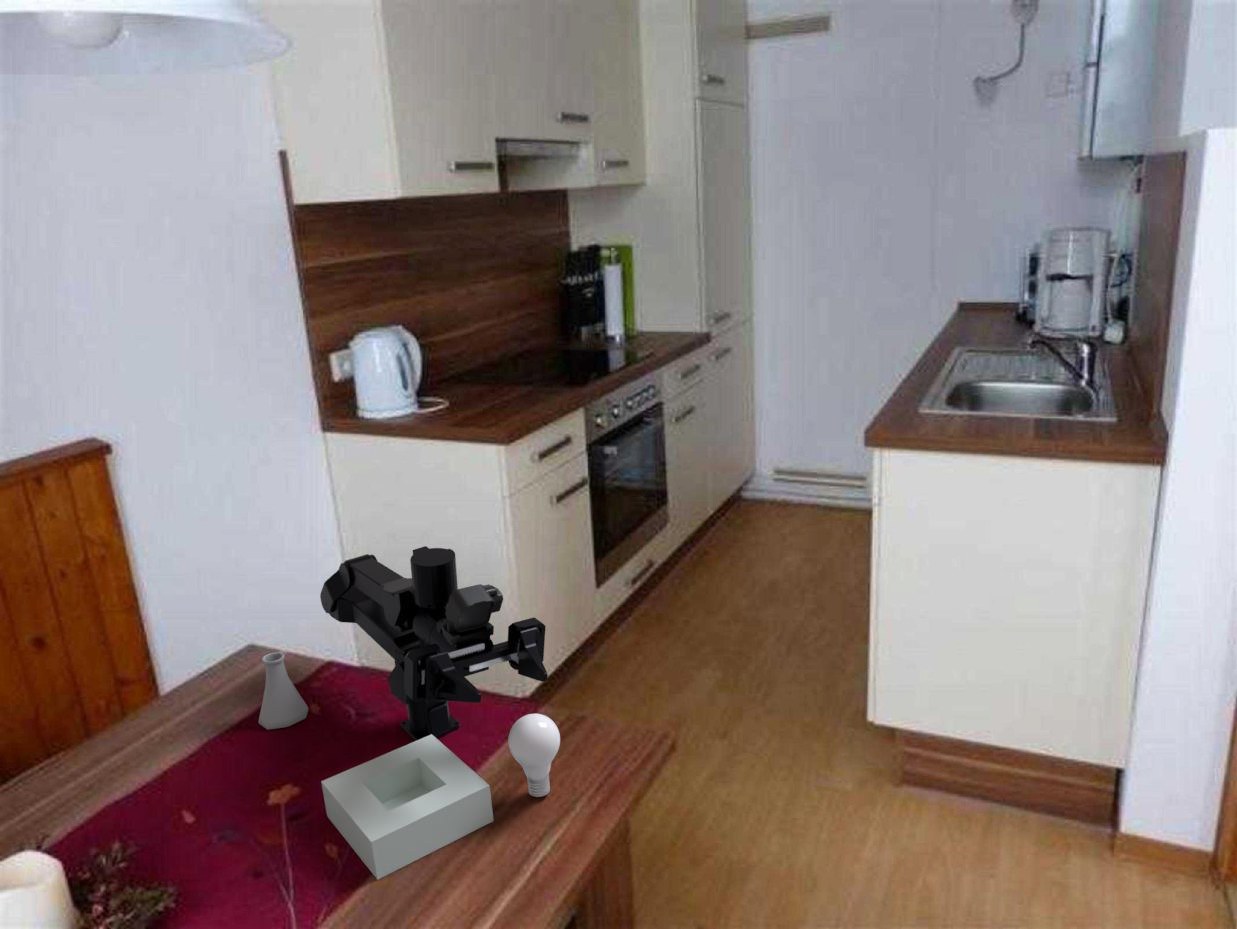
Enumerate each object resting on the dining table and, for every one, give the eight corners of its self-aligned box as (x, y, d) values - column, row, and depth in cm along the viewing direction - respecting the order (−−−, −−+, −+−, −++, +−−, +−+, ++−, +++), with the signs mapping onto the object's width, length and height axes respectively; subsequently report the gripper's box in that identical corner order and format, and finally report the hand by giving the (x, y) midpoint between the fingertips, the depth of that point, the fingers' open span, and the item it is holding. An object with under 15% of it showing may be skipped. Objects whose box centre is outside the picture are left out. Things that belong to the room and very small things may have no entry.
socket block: (327, 816, 116) (321, 781, 115) (436, 767, 125) (431, 734, 124) (377, 879, 105) (371, 842, 103) (493, 820, 113) (489, 785, 112)
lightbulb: (575, 794, 118) (568, 716, 114) (534, 817, 114) (526, 738, 110) (544, 773, 122) (537, 698, 119) (504, 795, 118) (495, 718, 115)
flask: (255, 713, 141) (243, 653, 139) (304, 699, 144) (294, 640, 142) (262, 736, 135) (250, 673, 132) (313, 720, 138) (303, 659, 135)
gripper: (382, 592, 114) (444, 645, 102) (512, 563, 125) (582, 608, 114) (381, 674, 117) (442, 734, 106) (509, 638, 129) (576, 689, 117)
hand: (514, 688), depth 111 cm, fingers open, 9 cm apart
